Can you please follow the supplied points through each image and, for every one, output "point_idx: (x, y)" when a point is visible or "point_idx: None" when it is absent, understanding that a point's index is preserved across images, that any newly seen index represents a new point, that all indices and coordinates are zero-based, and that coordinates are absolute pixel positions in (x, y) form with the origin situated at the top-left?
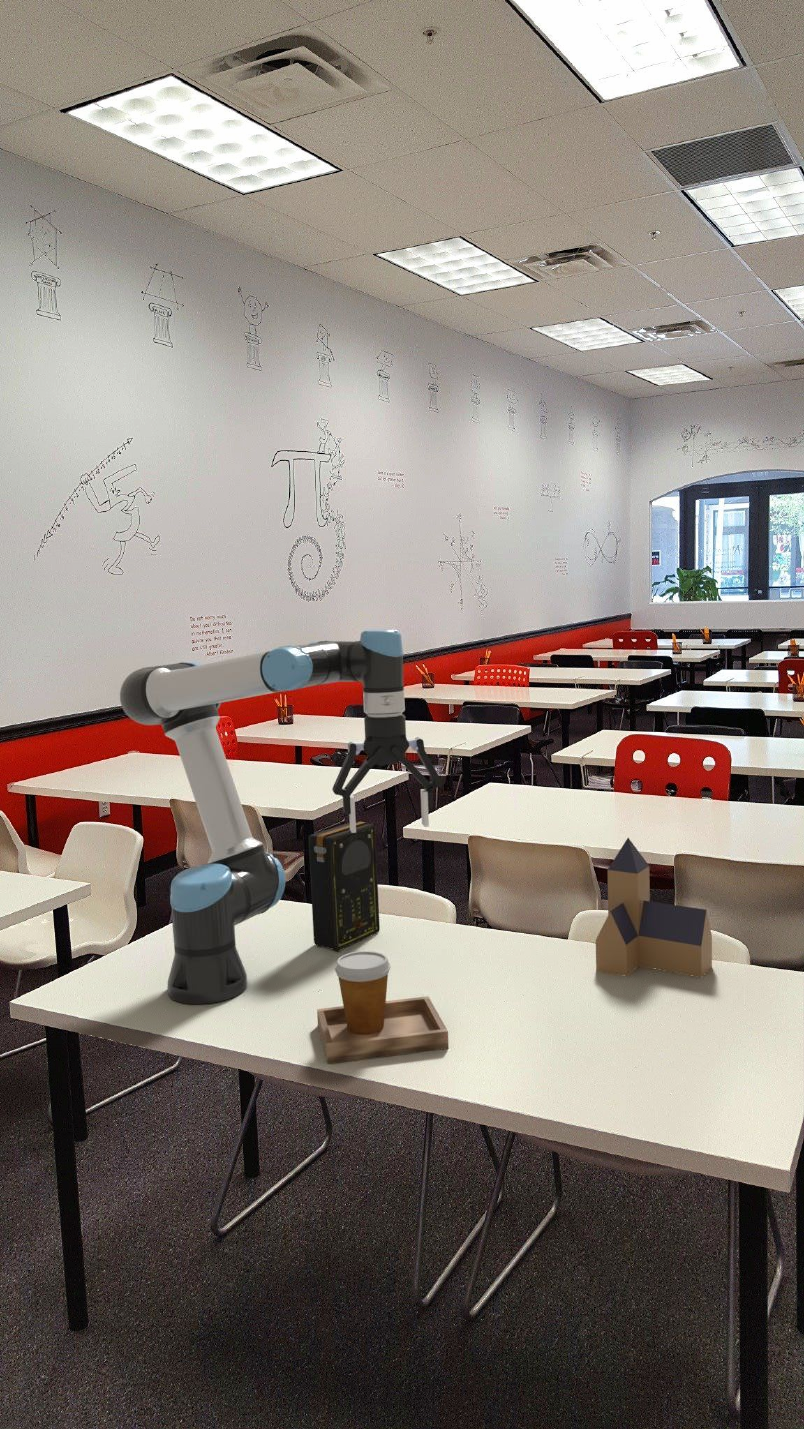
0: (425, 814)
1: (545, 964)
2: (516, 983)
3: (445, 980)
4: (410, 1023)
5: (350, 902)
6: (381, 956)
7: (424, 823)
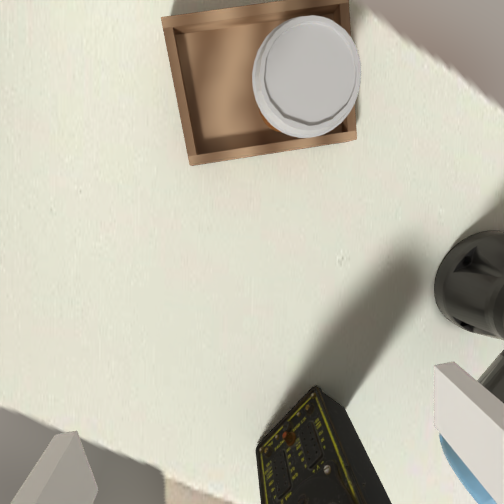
0: (31, 499)
1: (16, 318)
2: (61, 253)
3: (166, 275)
4: (219, 107)
5: (308, 460)
6: (270, 101)
7: (71, 450)
